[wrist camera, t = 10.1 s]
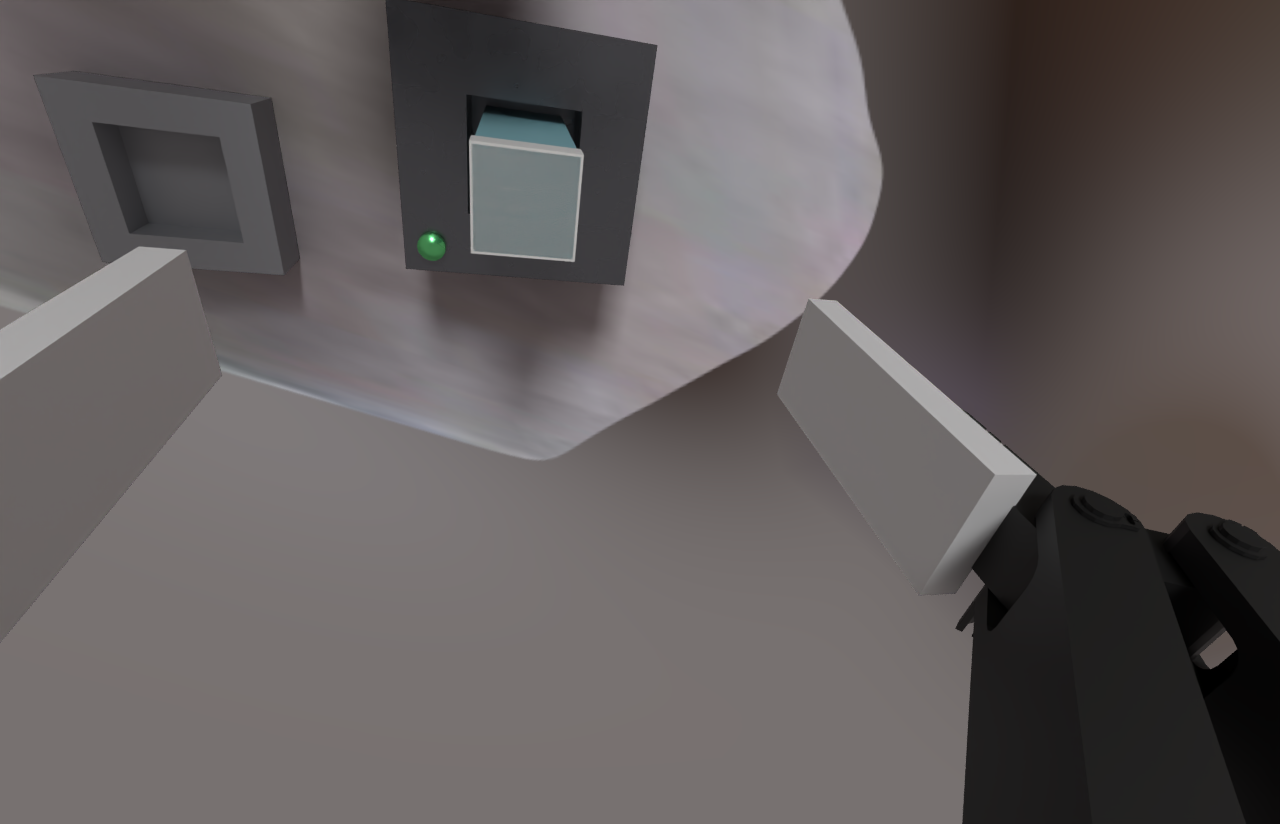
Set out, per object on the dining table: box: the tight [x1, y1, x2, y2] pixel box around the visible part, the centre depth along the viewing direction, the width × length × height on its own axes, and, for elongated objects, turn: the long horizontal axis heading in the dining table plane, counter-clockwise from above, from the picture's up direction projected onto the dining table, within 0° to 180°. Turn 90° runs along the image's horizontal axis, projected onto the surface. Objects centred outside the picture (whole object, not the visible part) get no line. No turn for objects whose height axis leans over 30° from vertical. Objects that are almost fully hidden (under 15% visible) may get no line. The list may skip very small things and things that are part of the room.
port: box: [386, 0, 657, 285], centre depth 31 cm, size 12×12×7 cm
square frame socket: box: [33, 71, 300, 275], centre depth 31 cm, size 9×9×3 cm
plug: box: [469, 105, 584, 262], centre depth 27 cm, size 4×4×12 cm
